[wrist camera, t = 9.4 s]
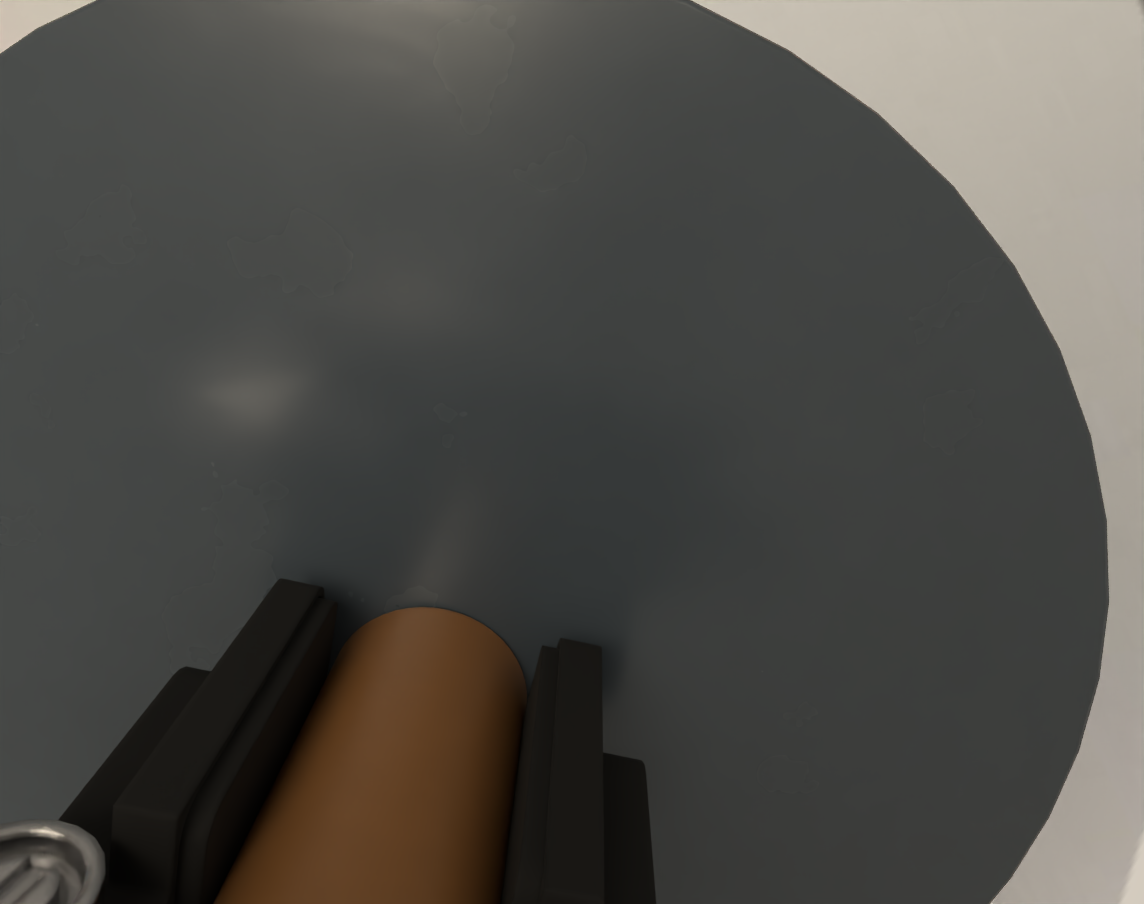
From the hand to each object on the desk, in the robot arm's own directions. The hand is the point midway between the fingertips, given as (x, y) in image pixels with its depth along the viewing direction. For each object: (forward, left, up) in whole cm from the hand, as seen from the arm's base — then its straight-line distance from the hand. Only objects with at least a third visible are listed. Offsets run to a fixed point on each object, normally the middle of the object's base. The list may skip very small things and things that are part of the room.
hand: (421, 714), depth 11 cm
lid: (0, 0, -1) cm, 1 cm away
